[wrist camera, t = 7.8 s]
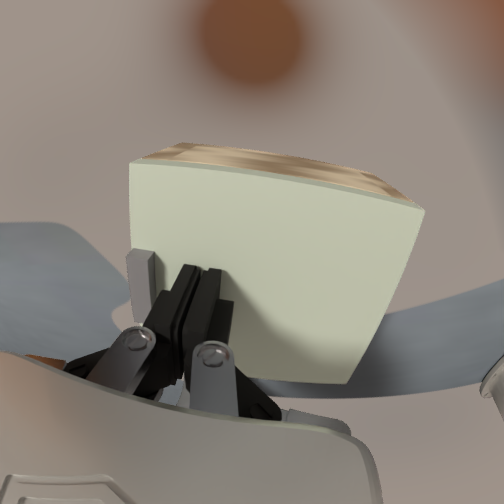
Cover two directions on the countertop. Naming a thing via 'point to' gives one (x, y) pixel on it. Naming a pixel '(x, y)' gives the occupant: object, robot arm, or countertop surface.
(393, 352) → the countertop surface
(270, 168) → the light wooden box
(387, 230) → the box lid
